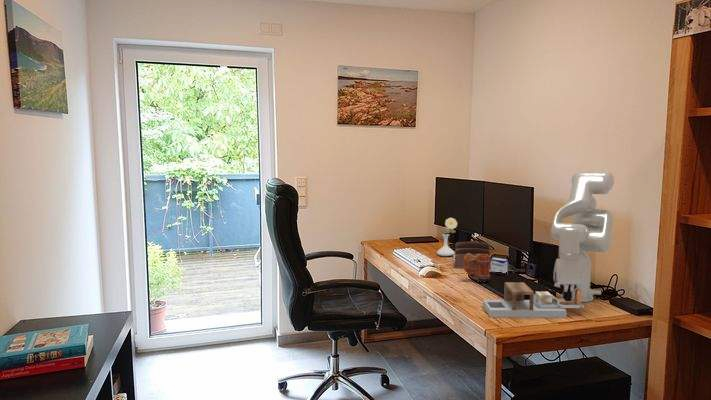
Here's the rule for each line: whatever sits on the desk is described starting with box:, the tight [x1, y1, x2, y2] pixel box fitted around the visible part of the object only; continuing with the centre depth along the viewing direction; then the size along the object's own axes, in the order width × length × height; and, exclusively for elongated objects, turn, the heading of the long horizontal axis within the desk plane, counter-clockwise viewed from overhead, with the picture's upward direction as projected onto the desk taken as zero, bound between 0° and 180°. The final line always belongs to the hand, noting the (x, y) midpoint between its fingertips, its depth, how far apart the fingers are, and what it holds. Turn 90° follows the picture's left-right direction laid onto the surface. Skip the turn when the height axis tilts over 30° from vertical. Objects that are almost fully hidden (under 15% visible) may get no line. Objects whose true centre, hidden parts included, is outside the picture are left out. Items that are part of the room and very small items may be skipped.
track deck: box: [482, 299, 567, 319], centre depth 186 cm, size 30×13×3 cm, turn 86°
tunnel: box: [503, 281, 535, 310], centre depth 185 cm, size 8×13×8 cm, turn 176°
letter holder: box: [454, 241, 491, 270], centre depth 261 cm, size 10×20×14 cm, turn 76°
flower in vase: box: [436, 217, 458, 257], centre depth 289 cm, size 13×11×25 cm
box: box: [490, 257, 509, 273], centre depth 244 cm, size 8×4×9 cm, turn 51°
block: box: [534, 291, 553, 304], centre depth 185 cm, size 5×5×5 cm
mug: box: [463, 253, 492, 280], centre depth 229 cm, size 15×8×15 cm, turn 92°
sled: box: [533, 289, 585, 309], centre depth 184 cm, size 18×8×6 cm, turn 86°
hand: (567, 300), depth 184 cm, fingers closed
